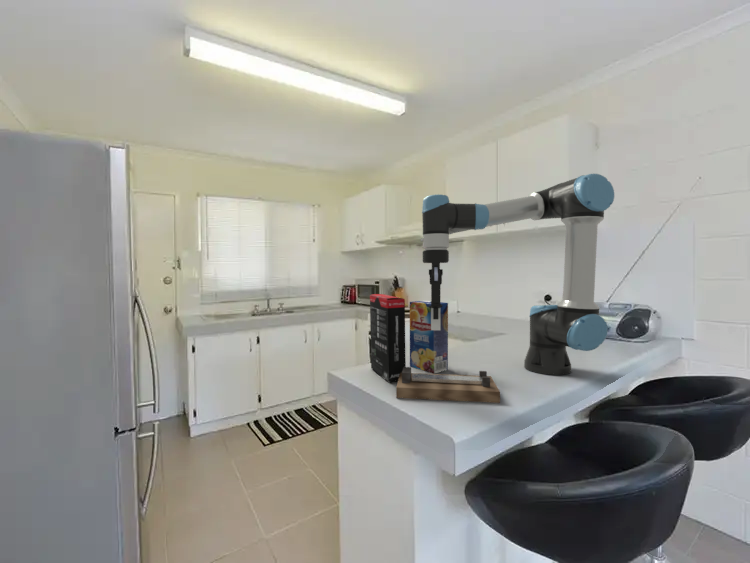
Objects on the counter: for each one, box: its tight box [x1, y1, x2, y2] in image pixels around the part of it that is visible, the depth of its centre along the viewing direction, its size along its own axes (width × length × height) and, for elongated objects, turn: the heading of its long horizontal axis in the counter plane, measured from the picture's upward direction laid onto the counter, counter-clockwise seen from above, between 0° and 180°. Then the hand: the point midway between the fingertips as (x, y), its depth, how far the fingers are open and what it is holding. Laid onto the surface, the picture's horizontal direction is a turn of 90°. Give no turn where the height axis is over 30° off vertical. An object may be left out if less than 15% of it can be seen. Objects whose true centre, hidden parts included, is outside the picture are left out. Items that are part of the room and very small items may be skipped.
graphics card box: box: [369, 293, 407, 383], centre depth 120 cm, size 17×7×27 cm, turn 21°
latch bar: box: [412, 373, 482, 385], centre depth 104 cm, size 21×4×1 cm, turn 82°
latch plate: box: [395, 366, 501, 404], centre depth 104 cm, size 28×14×6 cm, turn 82°
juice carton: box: [409, 300, 449, 374], centre depth 128 cm, size 12×8×24 cm, turn 38°
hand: (435, 329), depth 104 cm, fingers closed
